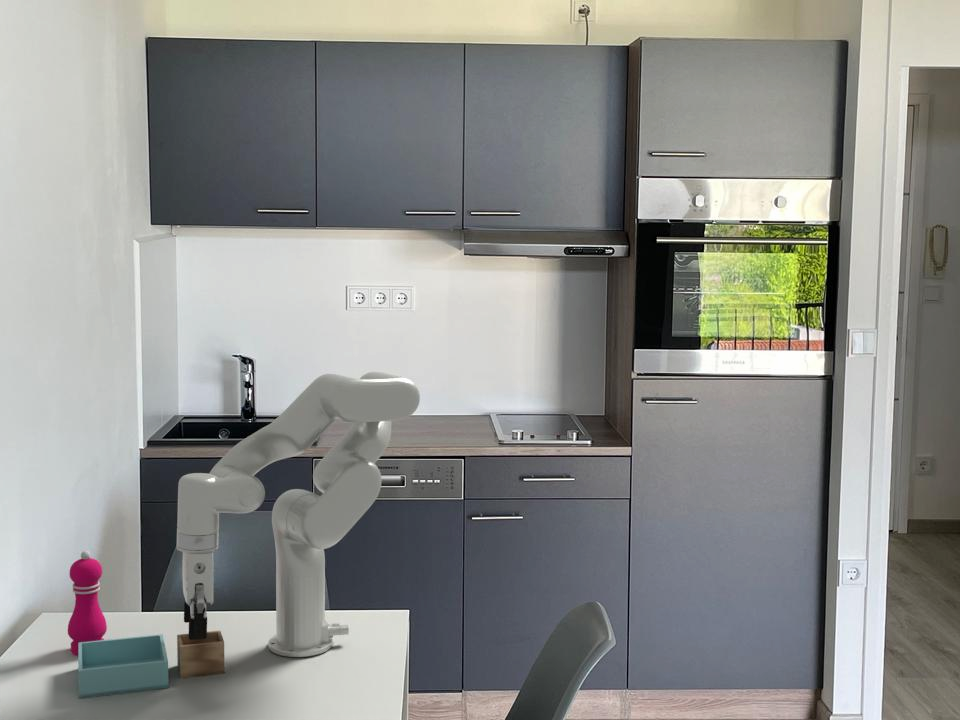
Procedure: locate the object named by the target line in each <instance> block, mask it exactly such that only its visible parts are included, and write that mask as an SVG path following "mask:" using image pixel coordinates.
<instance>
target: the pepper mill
mask: <svg viewBox="0 0 960 720" xmlns="http://www.w3.org/2000/svg"><path fill="white" fill-rule="evenodd" d="M102 574H103V567H102V564H101V562H99V561H98V560H97V559H95V558H92V557H91V553H90V551H88V550H84V551H82V552H81V554H80V559H77V560H75V561H74V562H73V563H72V564H71V565H70V569H69V578H70V579H71V581H72V582H73V584H72V592H73V594H74V595H75V596H74V597H75V602H74V608H73V610H72V614H71V616H70V618H69V621H68V626H67V635H68V636H69V637H68V638H70V639H71V640H72V641H71V643H70V653H71V654H72V655H74V656H77V657H78V643H80V642H89V641H99V640H105V639H104V638H103V637H104V636H105V635H106V632H107V629H108V625H107V621H106V617H105V615H104V612H103V611H102V609H101V607H100V604H99V598H98V597H99V596H98V593H99V591H100V589H101V587H100V585H101V583H100V581H99V580H100V579H101V577H102Z"/></svg>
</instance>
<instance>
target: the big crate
mask: <svg viewBox="0 0 960 720" xmlns="http://www.w3.org/2000/svg"><path fill="white" fill-rule="evenodd" d="M163 634H164V633H163ZM163 634H162V633H161V634H160V633H158V634H151V635H139V636H131V637H121V638H111V639H110V638H109V639H104V640H99V641H89V642H80V643H78V656H77V658H78V662H77V663H78V664H77V665H78V670H77V671H78V673H77V674H78V698H79V699H84V698H83V697H86V698H92V696H95V697H101V696H100V695H103V696H109V695H110V694H112V695H119V694H120V695H121V694H126V693H135V692H136V693H137V692H138V693H139V692H145V691H152V690H153V691H155V690H160V689H161V690H162V689H168V688H169V659H168V655H167V649H166V644H165V640H164V635H163Z"/></svg>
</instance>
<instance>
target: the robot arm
mask: <svg viewBox="0 0 960 720" xmlns="http://www.w3.org/2000/svg"><path fill="white" fill-rule="evenodd" d="M420 395H421V394H420V391H419V388H418V387H417V385H416V384H415V383H414V381H412V380H410V379H408V378H406V377H402V376H398V375H393V374H389V373H384V372H380V371H371V372H367V373H365V374H364V375H362V376H361V377H360V378H355V377H349V376H344V375H341V374H336V373H325V374H322V375H319V376H318V377H316V378H315V379H314V380H313V381H312V382H311V383H310V384H309V385H308V386H307V387H306V388H305V389H304V390H302V392H301V393H300V394H299V395H298V396H297V397H296V398H295V400H293V401H292V402H291V404H290V405H289V406H288V407H287V408H286V409H285V410H283V411H282V413H280V414H279V416H278V417H276V418H275V419H274V420H273V421H272V422H271V423H269V424H268V425H266V426H264V427H261V428H260V429H258V430H257V431H255V432H253V433H252V434H250V435H248V436H247V437H246V438H244V439H242V440H241V441H239V442H238V443H236V445H234V446H233V447H232V448H231V449H230V450H229V451H227V452H226V453H225V454H224V456H223V457H222V458H220V460H218V462H217V463H215V464H214V466H213V467H212V469H211V470H210V471H209V473H205V472H204V473H203V472H193V473H187V474H185V475H182V476H181V477H180V478H179V481H178V483H177V484H178V487H177V521H176V522H177V523H176V526H177V527H176V550H177V551H179V552H182V568H181V569H182V571H181V572H182V574H181V575H182V592H183V597H184V599H185V600H184V602H183V604H184V606H183V622H184V623H185V624H187V623H188V634H189V639H190V640H197V639H206V638H207V632H208V616H207V613H208V612H207V604H209V605H213V603H214V553H213V552H215V551H217V550H218V549H219V531H220V530H219V529H220V513H227V514H240V515H241V514H249V513H252V512H254V511H255V510H258V508H260V507H261V505H262V504H263V503H264V500H265V497H266V491H265V490H266V489H265V487H264V484H263V483H262V481H261V480H260V479H259V478H258V477H256V476H255V475H256V474H257V473H258V472H260V471H261V470H262V469H264V468H265V467H267V466H268V465H270V464H272V463H274V462H277V461H281V460H284V459H289V458H293V457H296V456H299V455H302V454H303V453H306V452H307V451H308V450H309V449H310V448H311V446H313V444H314V443H315V442H316V441H317V440H318V439H319V438H320V437H321V436H322V434H324V433H325V432H326V430H328V429H329V427H331V426H332V425H333V423H334V422H336V421H337V420H340V421H343V422H347V423H352V424H351V426H350V427H349V428H348V430H347V431H346V432H345V433H344V434H343V436H342V437H341V438H340V439H339V440H338V441H337V442H336V443H335V444H334V446H333V447H332V448H331V449H330V450H329V451H328V452H326V454H325V455H324V456H323V457H322V459H320V461H318V463H317V464H316V466H315V467H314V470H313V473H312V480H313V483H314V484H313V485H314V486H315V487H316V488H317V489H318V491H319V492H321V493H322V494H321V495H319V494H317V493H314V492H312V491H309V490H306V489H300V488H294V489H293V488H292V489H289V490H286V491H285V492H283V493H281V495H279V496H278V498H277V499H276V501H275V502H274V504H273V508H272V511H271V524H272V525H271V526H272V531H273V537H274V546H275V558H276V559H275V561H276V563H275V564H276V566H275V567H276V571H275V572H276V573H275V581H276V582H275V583H276V584H275V589H276V591H275V593H276V594H275V595H276V596H275V597H276V599H275V601H276V602H275V603H276V604H275V606H276V608H275V609H276V610H275V612H276V617H275V618H276V622H275V623H276V624H275V625H276V629H275V630H276V633H275V634H274V635H273V636H272V637H270V638H269V640H268V649H269V650H270V651H271V652H272V653H273V654H276V655H278V656H282V657H287V658H304V657H307V658H308V657H313V656H317V655H320V654H324V653H325V652H328V651H329V650H330V649H331V648H332V647H333V637H334V636H344V635H345V636H346V635H349V632H350V631H349V630H350V629H349V625H348V624H344V625H343V624H342V625H340V622H333V623H328V622H327V621H326V619H325V618H326V616H325V615H326V614H325V613H326V612H325V611H326V608H325V607H326V605H325V604H326V602H325V601H326V600H325V598H326V596H325V595H326V592H325V591H326V590H325V589H326V587H325V586H326V584H325V583H326V577H325V575H326V572H325V570H326V559H325V549H330V548H331V547H333V546H335V545H336V544H337V543H339V541H340V542H341V540H342V539H343V538H344V537H345V536H346V535H347V534H348V533H349V532H350V530H352V529H353V527H354V526H355V525H356V524H357V522H358V521H359V520H360V519H361V518H362V517H363V516H364V514H366V512H368V510H369V509H370V507H371V506H372V505H373V504H374V502H375V501H376V499H377V498H378V496H379V494H380V491H381V487H382V483H383V482H382V473H381V471H380V469H379V467H378V465H376V463H377V461H379V459H380V458H381V457H382V456H383V454H384V453H385V451H386V449H387V448H388V446H389V444H390V440H391V438H392V437H391V436H392V421H393V422H394V421H401V420H406V419H408V418H409V417H411V416H412V415H413V414H414V413H415V412H416V411H417V409H418V407H419V405H420V399H421V396H420Z"/></svg>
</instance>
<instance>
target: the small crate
mask: <svg viewBox="0 0 960 720" xmlns="http://www.w3.org/2000/svg"><path fill="white" fill-rule="evenodd" d="M176 643H177V645H176V646H177V648H176V651H177V654H176V655H177V656H176V657H177V669H178V673H179V678H180V679H185V678H192V677H194V676H195V677H202V676H209V675H211V676H213V675H219V674H220V673H221V674H225V670H226V669H225V640H224V637H223V635H222V632H221V630H210V631H207V638H206V639H197V640H190V639H189V633H183V634H181V633H179V634H176ZM183 677H185V678H183Z"/></svg>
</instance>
